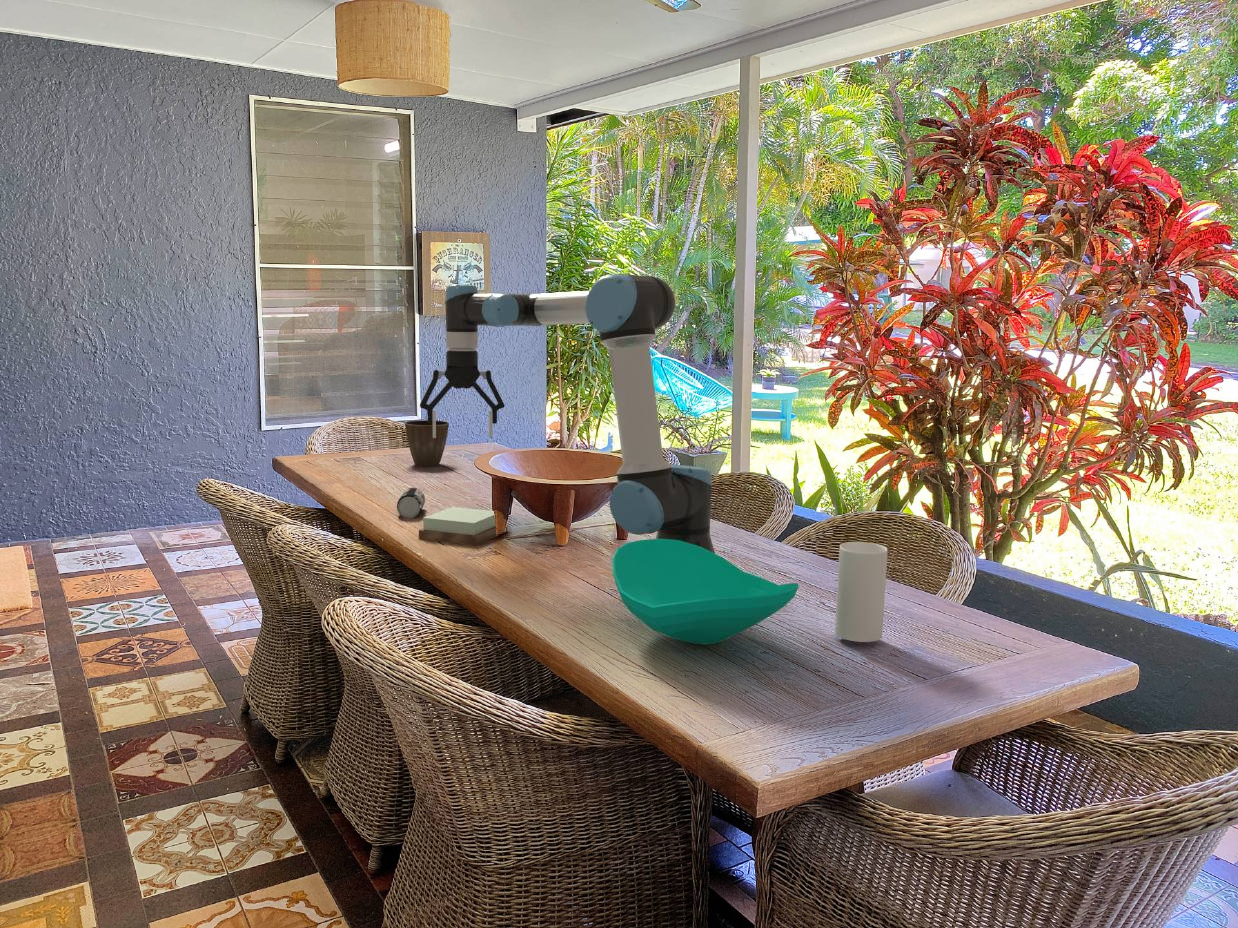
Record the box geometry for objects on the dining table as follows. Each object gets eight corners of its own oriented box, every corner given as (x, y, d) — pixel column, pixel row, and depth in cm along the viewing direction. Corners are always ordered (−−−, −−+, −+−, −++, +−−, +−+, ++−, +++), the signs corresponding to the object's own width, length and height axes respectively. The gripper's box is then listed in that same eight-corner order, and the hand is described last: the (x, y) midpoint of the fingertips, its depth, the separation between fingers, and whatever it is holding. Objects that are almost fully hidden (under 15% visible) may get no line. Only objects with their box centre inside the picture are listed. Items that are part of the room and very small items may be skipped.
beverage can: (398, 506, 270) (393, 516, 259) (404, 484, 270) (399, 492, 258) (421, 513, 271) (417, 522, 260) (428, 490, 271) (424, 499, 259)
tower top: (501, 523, 247) (501, 511, 246) (474, 535, 234) (474, 523, 233) (452, 518, 251) (452, 506, 251) (423, 529, 238) (423, 517, 238)
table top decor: (576, 616, 182) (577, 547, 179) (698, 596, 196) (700, 532, 194) (700, 690, 148) (703, 605, 146) (837, 659, 162) (841, 582, 160)
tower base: (507, 534, 248) (507, 522, 248) (477, 548, 233) (477, 536, 233) (451, 528, 253) (450, 517, 253) (418, 542, 238) (418, 530, 238)
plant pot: (436, 463, 350) (435, 419, 347) (457, 469, 339) (457, 423, 336) (397, 467, 341) (397, 421, 338) (418, 473, 329) (417, 426, 327)
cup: (847, 623, 181) (852, 539, 178) (889, 633, 175) (895, 547, 173) (826, 634, 174) (831, 547, 172) (869, 645, 169) (875, 555, 167)
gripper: (512, 349, 242) (512, 434, 245) (409, 348, 237) (410, 435, 240) (515, 351, 234) (515, 438, 238) (408, 350, 230) (410, 439, 233)
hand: (462, 437), depth 239 cm, fingers open, 13 cm apart
